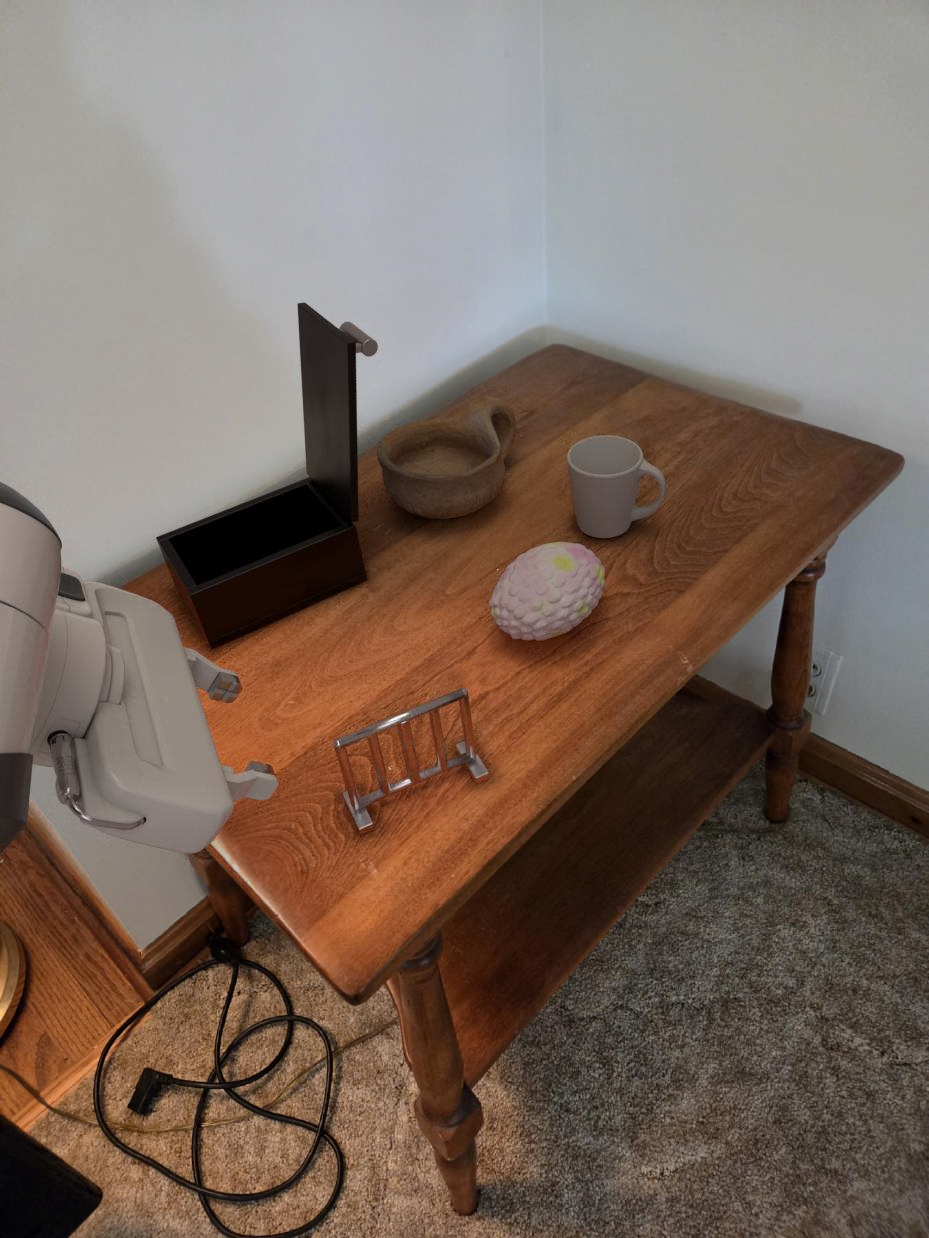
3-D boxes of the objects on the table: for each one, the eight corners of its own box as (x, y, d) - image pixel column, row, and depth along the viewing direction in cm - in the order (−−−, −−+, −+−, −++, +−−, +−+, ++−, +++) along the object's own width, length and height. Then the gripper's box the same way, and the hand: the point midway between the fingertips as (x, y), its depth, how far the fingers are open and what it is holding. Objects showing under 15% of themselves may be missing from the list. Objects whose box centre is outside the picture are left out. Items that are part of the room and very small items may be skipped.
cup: (578, 498, 100) (577, 431, 95) (669, 510, 97) (674, 441, 91) (559, 539, 95) (557, 471, 89) (654, 553, 92) (659, 483, 86)
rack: (360, 835, 70) (339, 762, 64) (343, 798, 73) (321, 725, 67) (489, 778, 73) (481, 703, 67) (468, 744, 76) (458, 670, 70)
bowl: (430, 428, 111) (442, 358, 104) (531, 476, 109) (551, 408, 101) (350, 506, 100) (357, 435, 93) (460, 563, 97) (476, 494, 90)
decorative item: (461, 613, 81) (520, 518, 78) (497, 601, 91) (551, 517, 88) (543, 672, 79) (607, 578, 76) (570, 653, 89) (628, 569, 87)
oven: (211, 649, 88) (189, 595, 83) (176, 590, 95) (155, 536, 90) (367, 580, 93) (355, 525, 88) (323, 529, 100) (310, 476, 96)
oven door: (347, 343, 77) (393, 336, 79) (297, 303, 84) (340, 297, 86) (351, 523, 88) (391, 512, 90) (306, 473, 95) (344, 465, 97)
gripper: (89, 773, 43) (324, 814, 52) (51, 548, 58) (240, 610, 67) (33, 863, 45) (269, 888, 54) (9, 624, 60) (199, 675, 69)
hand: (252, 733), depth 60 cm, fingers open, 8 cm apart
